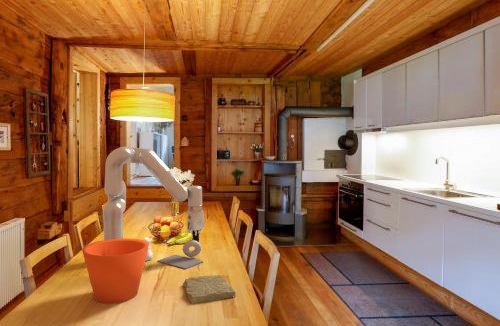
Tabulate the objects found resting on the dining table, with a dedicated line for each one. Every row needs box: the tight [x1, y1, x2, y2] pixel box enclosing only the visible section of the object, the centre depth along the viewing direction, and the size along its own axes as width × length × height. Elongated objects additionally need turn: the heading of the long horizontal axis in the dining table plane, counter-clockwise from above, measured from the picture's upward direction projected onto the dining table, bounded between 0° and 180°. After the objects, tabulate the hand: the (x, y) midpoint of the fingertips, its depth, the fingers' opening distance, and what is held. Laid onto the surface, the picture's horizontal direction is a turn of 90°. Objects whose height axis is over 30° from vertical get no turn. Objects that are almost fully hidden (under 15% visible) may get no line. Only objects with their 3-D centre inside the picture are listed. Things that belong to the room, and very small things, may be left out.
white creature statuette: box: [142, 236, 154, 262], centre depth 187 cm, size 10×9×12 cm
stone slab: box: [182, 274, 236, 305], centre depth 147 cm, size 19×20×4 cm
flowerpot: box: [81, 237, 150, 305], centre depth 141 cm, size 25×25×20 cm
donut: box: [182, 239, 202, 258], centre depth 190 cm, size 10×4×10 cm, turn 100°
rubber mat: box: [157, 254, 204, 270], centre depth 184 cm, size 13×20×1 cm, turn 57°
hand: (195, 241), depth 192 cm, fingers closed
